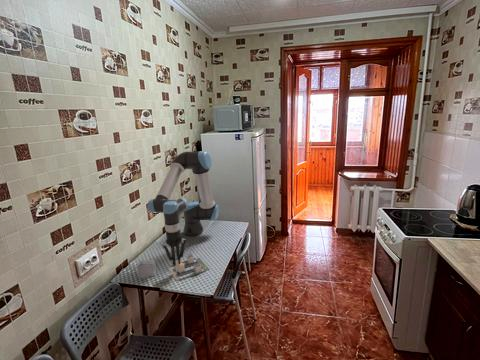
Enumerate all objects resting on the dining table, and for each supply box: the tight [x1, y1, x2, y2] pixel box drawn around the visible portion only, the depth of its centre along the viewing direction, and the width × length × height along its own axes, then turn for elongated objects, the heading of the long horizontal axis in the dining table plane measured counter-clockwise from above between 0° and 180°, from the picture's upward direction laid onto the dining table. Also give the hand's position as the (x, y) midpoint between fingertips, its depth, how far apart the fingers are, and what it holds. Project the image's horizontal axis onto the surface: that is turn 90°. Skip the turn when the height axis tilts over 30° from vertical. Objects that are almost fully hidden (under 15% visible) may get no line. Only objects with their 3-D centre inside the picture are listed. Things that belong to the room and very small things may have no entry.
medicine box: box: [137, 259, 157, 279], centre depth 143 cm, size 8×4×9 cm, turn 92°
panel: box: [168, 257, 211, 282], centre depth 148 cm, size 16×22×2 cm
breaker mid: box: [177, 262, 186, 273], centre depth 144 cm, size 3×3×4 cm
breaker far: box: [186, 253, 195, 264], centre depth 153 cm, size 3×3×4 cm
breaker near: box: [193, 262, 203, 274], centre depth 143 cm, size 3×3×4 cm
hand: (177, 269), depth 143 cm, fingers closed
